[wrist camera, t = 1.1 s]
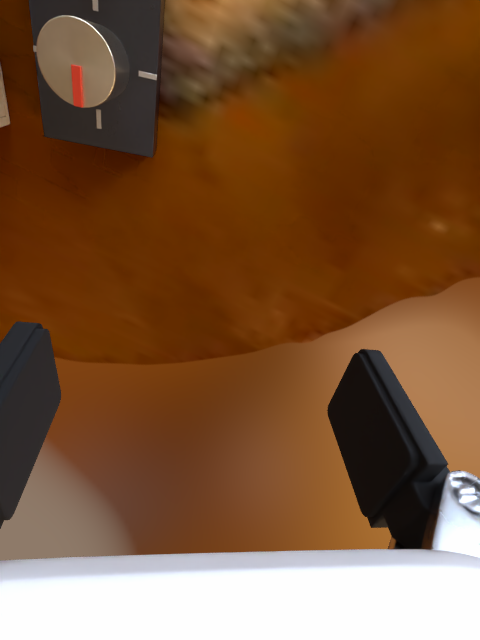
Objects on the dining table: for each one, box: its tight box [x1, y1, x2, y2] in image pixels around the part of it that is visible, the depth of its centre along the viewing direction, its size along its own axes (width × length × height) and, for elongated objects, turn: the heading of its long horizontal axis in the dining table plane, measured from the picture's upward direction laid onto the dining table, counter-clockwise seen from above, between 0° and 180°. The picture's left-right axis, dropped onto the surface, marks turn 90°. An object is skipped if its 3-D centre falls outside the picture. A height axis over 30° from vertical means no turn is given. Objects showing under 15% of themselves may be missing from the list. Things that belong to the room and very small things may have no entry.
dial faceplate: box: [29, 0, 165, 157], centre depth 28 cm, size 12×9×3 cm
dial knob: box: [36, 15, 129, 108], centre depth 24 cm, size 5×5×6 cm
